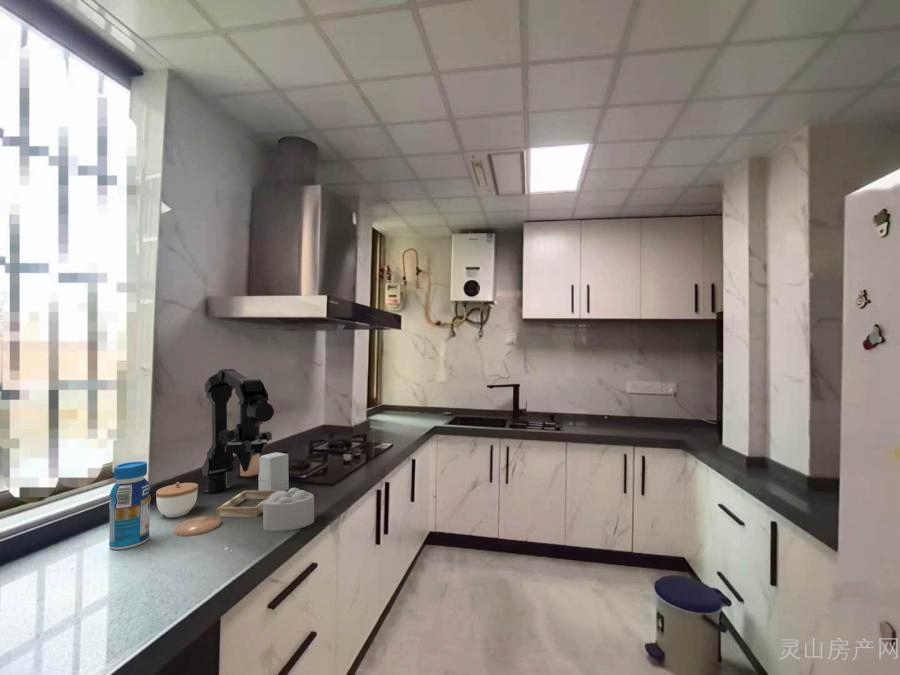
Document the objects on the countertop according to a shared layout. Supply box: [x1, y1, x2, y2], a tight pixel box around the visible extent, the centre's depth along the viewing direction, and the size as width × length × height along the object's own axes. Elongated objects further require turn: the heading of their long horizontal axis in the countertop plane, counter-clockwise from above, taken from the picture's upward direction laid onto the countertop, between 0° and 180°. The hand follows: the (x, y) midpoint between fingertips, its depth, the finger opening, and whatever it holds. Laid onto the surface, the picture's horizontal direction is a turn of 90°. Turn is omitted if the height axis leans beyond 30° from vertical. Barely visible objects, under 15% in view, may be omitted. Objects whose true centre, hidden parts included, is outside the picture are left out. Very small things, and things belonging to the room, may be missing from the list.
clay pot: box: [239, 452, 260, 477], centre depth 129 cm, size 6×6×6 cm
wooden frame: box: [215, 490, 279, 518], centre depth 128 cm, size 16×12×2 cm
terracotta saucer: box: [173, 515, 222, 537], centre depth 113 cm, size 11×11×1 cm
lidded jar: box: [155, 481, 199, 519], centre depth 124 cm, size 11×11×9 cm
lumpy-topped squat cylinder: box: [262, 487, 315, 532], centre depth 115 cm, size 10×13×9 cm
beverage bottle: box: [108, 460, 152, 551], centre depth 105 cm, size 8×8×20 cm
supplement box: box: [258, 451, 290, 492], centre depth 143 cm, size 7×7×13 cm
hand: (249, 468), depth 129 cm, fingers closed on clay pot, 5 cm apart
